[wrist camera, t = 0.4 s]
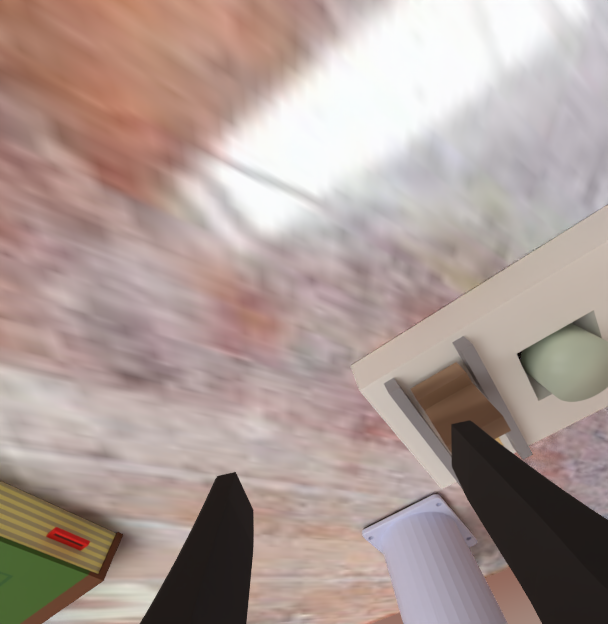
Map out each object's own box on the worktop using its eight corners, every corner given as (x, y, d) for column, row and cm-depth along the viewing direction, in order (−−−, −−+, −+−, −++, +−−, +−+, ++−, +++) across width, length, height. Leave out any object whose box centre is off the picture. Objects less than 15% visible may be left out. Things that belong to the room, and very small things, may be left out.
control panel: (710, 310, 21) (785, 335, 18) (426, 460, 25) (447, 501, 22) (695, 149, 16) (794, 144, 13) (350, 365, 20) (363, 400, 17)
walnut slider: (475, 394, 18) (517, 440, 15) (431, 418, 19) (462, 468, 16) (456, 362, 17) (496, 405, 14) (410, 388, 18) (439, 436, 15)
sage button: (590, 354, 20) (629, 378, 17) (531, 386, 20) (561, 412, 18) (575, 310, 18) (616, 329, 16) (512, 346, 19) (542, 369, 17)
